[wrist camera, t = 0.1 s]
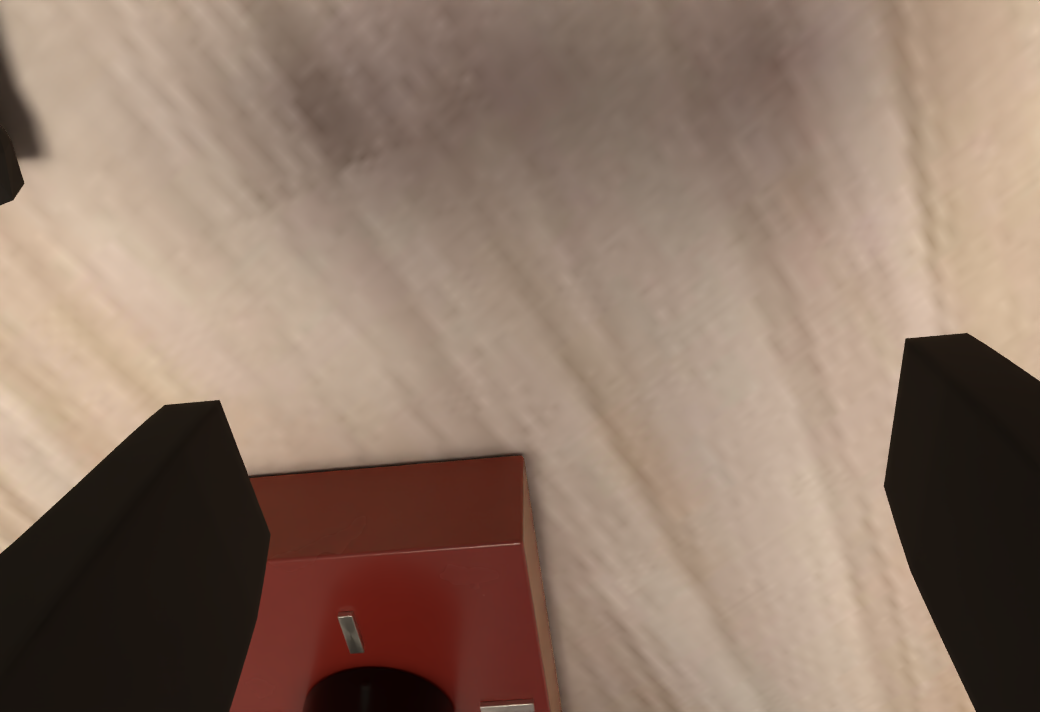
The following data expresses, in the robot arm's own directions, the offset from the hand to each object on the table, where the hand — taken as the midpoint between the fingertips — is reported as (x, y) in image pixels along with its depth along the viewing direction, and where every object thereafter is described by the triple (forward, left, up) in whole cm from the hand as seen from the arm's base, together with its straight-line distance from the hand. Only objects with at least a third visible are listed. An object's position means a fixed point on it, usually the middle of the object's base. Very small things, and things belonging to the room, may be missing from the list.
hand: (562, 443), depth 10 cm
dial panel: (-15, +6, -10) cm, 19 cm away
